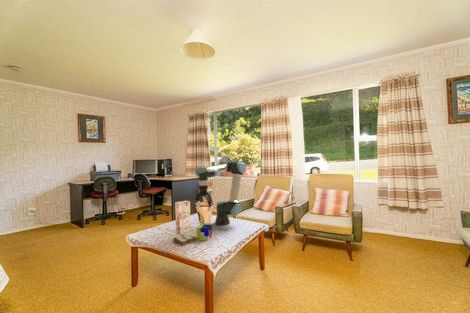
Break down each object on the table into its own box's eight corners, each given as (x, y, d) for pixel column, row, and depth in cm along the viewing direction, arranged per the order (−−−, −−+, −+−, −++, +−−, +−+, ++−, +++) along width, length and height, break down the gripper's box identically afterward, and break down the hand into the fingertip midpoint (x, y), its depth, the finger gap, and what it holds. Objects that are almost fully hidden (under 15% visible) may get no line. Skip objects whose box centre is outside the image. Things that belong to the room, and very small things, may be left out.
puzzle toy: (208, 240, 180) (207, 228, 180) (196, 239, 182) (196, 227, 182) (211, 236, 190) (211, 224, 190) (201, 235, 192) (200, 224, 192)
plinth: (186, 236, 189) (186, 233, 189) (195, 240, 181) (195, 236, 180) (173, 241, 179) (173, 237, 179) (182, 245, 171) (182, 241, 171)
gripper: (190, 184, 191) (191, 208, 191) (210, 186, 174) (210, 212, 175) (197, 183, 196) (197, 206, 197) (216, 185, 180) (217, 211, 180)
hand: (203, 209), depth 186 cm, fingers open, 13 cm apart
